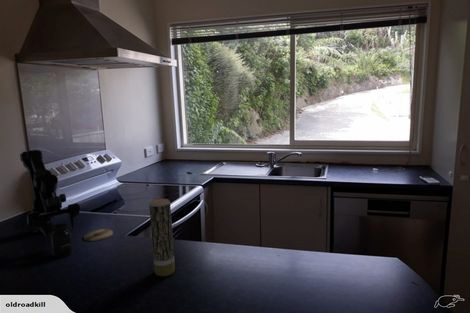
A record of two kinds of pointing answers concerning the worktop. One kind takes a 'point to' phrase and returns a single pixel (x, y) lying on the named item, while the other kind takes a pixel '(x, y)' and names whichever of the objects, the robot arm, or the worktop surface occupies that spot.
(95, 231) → the cork trivet
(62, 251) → the supplement bottle
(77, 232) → the worktop surface
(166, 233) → the pale patterned cylinder
